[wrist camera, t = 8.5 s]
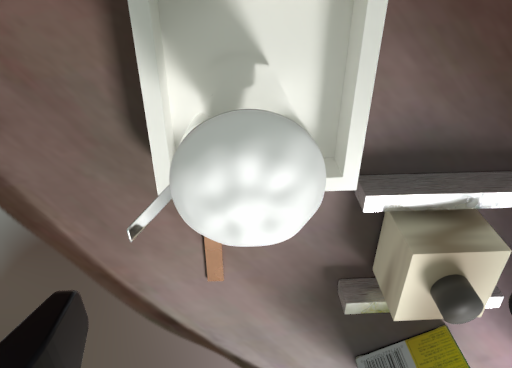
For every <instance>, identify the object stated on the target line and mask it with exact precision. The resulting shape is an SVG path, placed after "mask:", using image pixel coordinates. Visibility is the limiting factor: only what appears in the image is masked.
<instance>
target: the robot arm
mask: <svg viewBox="0 0 512 368" xmlns="http://www.w3.org/2000/svg"><path fill="white" fill-rule="evenodd" d="M509 309H510V312H511V314H512V294H511V296H510V298H509ZM87 332H88V316H87V313H86V310H85V307H84V304H83V301H82V298H81V295H80V293H79V292H78V291H75V290H70V291H57V292H55V293H53V294H52V295H51V296H50V297H49V298H47V299H46V300H45V301H44V302H43V303H42V304H41V305H40V306H39V307H38V308H37V309H36V310H34V311H33V312H32V314H30V315H29V316H28V317H27V318H26V319H25V320H24V321H22V322H21V323H20V324H19V325H18V326H17V327H16V328H15V329H14V330H13V331H12V332H11V333H10V334H8V335H7V336H6V337H5V338H4V339H3V340H2V341H1V342H0V368H81V363H82V358H83V353H84V348H85V343H86V337H87Z"/></svg>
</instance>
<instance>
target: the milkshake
mask: <svg viewBox="0 0 512 368" xmlns="http://www.w3.org/2000/svg"><path fill="white" fill-rule="evenodd" d="M169 183H170V184H169V185H168V186H167V187H166V188H165V189H164V190H163V192H162V193H161V194H160V195H159V196H158V197H157V198H156V199H155V200H154V201H153V202H152V203H151V204H150V205H149V206H148V207H147V208H146V209H145V210H144V211H143V212H142V213H141V214H140V215H139V216H138V217H137V219H136V220H135V221H134V222H133V223H132V224H131V225H130V226H129V227H128V228H127V233H128V237H129V240H130V242H132V241H134V240H135V238H136V237H137V236H138V235H139V234H140V233H141V232H142V231H143V230H144V229H145V228H146V226H147V225H148V224H149V223H150V222H151V221H152V220H153V219H154V218H155V217H156V215H157V214H158V213H159V212H160V211H161V210H162V209H163V208H164V207H165V206H166V204H167V203H168V202H169V201H170V200H171V199H173V201H174V204H175V206H176V208H177V210H178V212H179V214H180V215H181V217H182V218H183V220H184V221H185V222H186V223H187V224H188V225H189V226H190V227H191V228H192V229H194V230H195V231H196V232H198V233H200V234H201V235H203V236H205V237H207V238H209V239H211V240H213V241H216V242H218V243H221V244H225V245H230V246H243V247H248V246H266V245H273V244H277V243H280V242H283V241H285V240H287V239H289V238H291V237H293V236H294V235H295V234H297V233H298V232H299V231H300V230H301V228H302V227H303V226H304V225H305V224H306V223H307V222H308V220H309V219H310V218H311V217H312V216H313V215H314V214H315V212H316V211H317V209H318V208H319V206H320V204H321V202H322V200H323V196H324V192H325V186H326V168H325V163H324V159H323V156H322V153H321V151H320V149H319V147H318V145H317V144H316V142H315V141H314V139H313V138H312V136H311V134H310V133H309V131H308V130H307V128H306V127H305V125H304V124H303V122H302V121H301V119H300V117H299V116H298V114H297V113H296V111H295V110H294V108H293V106H292V105H291V103H290V101H289V99H288V97H287V95H286V94H285V92H284V90H283V88H282V86H281V85H280V83H279V81H278V79H277V77H276V75H275V74H274V72H273V70H272V68H271V67H270V66H269V65H268V64H266V63H264V62H263V61H261V60H260V59H258V58H257V57H255V56H254V55H253V54H231V55H227V56H225V57H224V58H223V59H222V60H221V61H219V62H218V63H217V64H216V65H215V66H213V67H212V68H211V69H210V70H209V72H208V75H207V78H206V81H205V84H204V86H203V89H202V92H201V95H200V97H199V100H198V103H197V105H196V108H195V111H194V113H193V115H192V118H191V120H190V122H189V124H188V126H187V129H186V131H185V133H184V135H183V138H182V140H181V142H180V144H179V146H178V148H177V150H176V152H175V154H174V156H173V159H172V162H171V167H170V175H169Z"/></svg>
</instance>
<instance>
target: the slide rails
mask: <svg viewBox="0 0 512 368" xmlns="http://www.w3.org/2000/svg"><path fill="white" fill-rule="evenodd" d="M353 191H354V193H355V195H356V197H357V199H358V202H359V204H360V206H361V208H362V210H363V212H387V211H419V210H450V209H481V208H512V171H502V172H466V173H429V174H393V175H359V177H358V183H357V189H356V190H353ZM204 243H205V254H206V266H207V278H208V281H224V275H223V257H222V244H221V243H218V242H216V241H213V240H211V239H209V238H207V237H205V236H204ZM337 291H338V294H339V298H340V301H341V304H342V308H343V311H344V314H363V313H386V312H390V311H389V308H388V306H387V303H386V301H385V299H384V296H383V294H382V291H381V289H380V286H379V284H378V282H377V279H376V278H359V279H339V282H338V289H337ZM503 298H504V295H503V294H502V293H501V291H500V290H499V289H498V287H497V286H495V288H494V290H493V292H492V294H491V297H490V299H489V301H488V303H487V305H486V307H485V308H498V307H500V305H501V303H502V301H503Z"/></svg>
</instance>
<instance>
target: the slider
mask: <svg viewBox="0 0 512 368" xmlns="http://www.w3.org/2000/svg"><path fill="white" fill-rule="evenodd" d="M511 251H512V250H511V249H510V248H509V247H508V246H507V245H506V243H505V242H504V241H503V240H502V239H501V237H500V236H499V235H498V234H497V233H496V232H495V230H494V229H493V228H492V227H491V226H490V225H489V223H488V222H487V221H486V220H485V219H484V217H483V216H482V215H481V214H480V213H479V212H478V210H477V209H450V210H419V211H387V212H385V215H384V220H383V224H382V229H381V233H380V238H379V242H378V247H377V251H376V256H375V260H374V265H373V272H374V274H375V277H376V279H377V282H378V284H379V286H380V289H381V291H382V294H383V296H384V299H385V301H386V303H387V306H388V308H389V311H390V313H391V316H392V318H393V321H408V320H430V319H444V320H445V321H446V322H448V323H451V324H462V323H466V322H469V321H471V320H473V319H475V318H476V317H481V316H482V314H483V312H484V310H485V307H486V305H487V303H488V301H489V299H490V297H491V294H492V292H493V290H494V288H495V286H496V284H497V282H498V279H499V277H500V275H501V273H502V271H503V269H504V267H505V264H506V262H507V260H508V258H509V256H510V254H511Z"/></svg>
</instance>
